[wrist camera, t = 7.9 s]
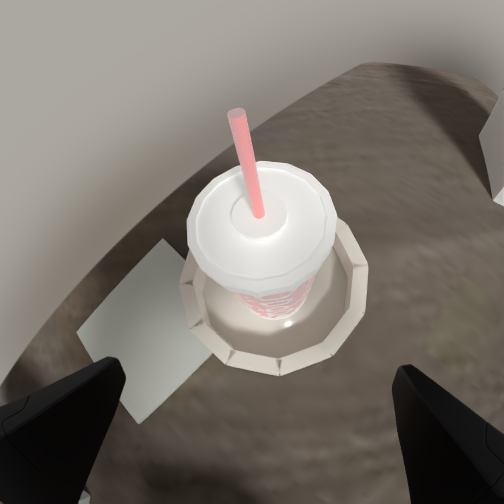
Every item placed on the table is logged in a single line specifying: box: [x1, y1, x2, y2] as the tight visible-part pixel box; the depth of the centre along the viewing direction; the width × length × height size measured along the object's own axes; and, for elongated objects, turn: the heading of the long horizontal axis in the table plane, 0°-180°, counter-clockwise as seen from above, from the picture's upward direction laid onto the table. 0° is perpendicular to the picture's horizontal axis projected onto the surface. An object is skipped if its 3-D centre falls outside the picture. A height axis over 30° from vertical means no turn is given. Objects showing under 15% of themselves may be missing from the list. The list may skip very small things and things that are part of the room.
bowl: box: [179, 218, 368, 376], centre depth 18 cm, size 12×12×3 cm
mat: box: [76, 238, 213, 424], centre depth 20 cm, size 12×10×1 cm
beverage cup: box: [187, 108, 337, 320], centre depth 13 cm, size 6×6×14 cm
